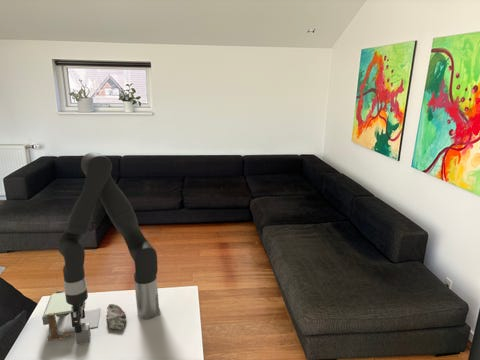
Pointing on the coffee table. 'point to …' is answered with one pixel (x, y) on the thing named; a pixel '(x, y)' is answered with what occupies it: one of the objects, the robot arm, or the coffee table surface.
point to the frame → (55, 326)
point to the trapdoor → (56, 306)
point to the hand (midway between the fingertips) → (80, 325)
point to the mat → (84, 320)
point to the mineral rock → (115, 317)
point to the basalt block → (83, 334)
